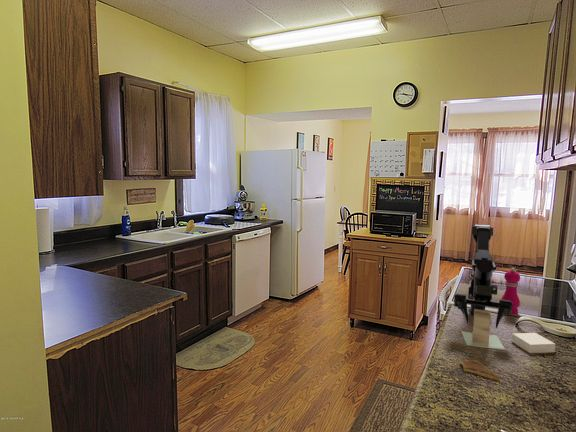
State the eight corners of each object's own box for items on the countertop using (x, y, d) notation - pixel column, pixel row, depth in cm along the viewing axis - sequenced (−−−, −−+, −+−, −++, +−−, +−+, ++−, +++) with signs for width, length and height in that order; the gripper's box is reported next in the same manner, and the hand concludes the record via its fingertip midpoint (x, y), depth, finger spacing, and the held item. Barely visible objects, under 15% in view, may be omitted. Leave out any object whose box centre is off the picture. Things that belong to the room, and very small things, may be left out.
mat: (461, 332, 143) (461, 331, 143) (496, 336, 140) (496, 335, 140) (467, 345, 131) (467, 344, 131) (505, 350, 128) (505, 349, 128)
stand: (511, 341, 135) (512, 333, 135) (534, 340, 136) (535, 332, 136) (530, 353, 126) (530, 344, 126) (554, 352, 127) (555, 343, 127)
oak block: (472, 337, 137) (474, 308, 136) (487, 340, 135) (489, 311, 134) (472, 343, 133) (474, 313, 131) (488, 346, 131) (490, 315, 129)
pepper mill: (522, 315, 161) (526, 269, 159) (506, 314, 161) (509, 269, 159) (513, 309, 168) (516, 265, 166) (496, 309, 168) (500, 265, 166)
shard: (501, 383, 109) (501, 377, 108) (476, 384, 108) (476, 378, 108) (478, 364, 119) (478, 359, 119) (455, 365, 119) (456, 360, 118)
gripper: (455, 272, 139) (453, 310, 130) (514, 278, 131) (515, 319, 122) (455, 287, 147) (452, 324, 138) (510, 294, 139) (511, 333, 130)
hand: (481, 325), depth 132 cm, fingers open, 9 cm apart
